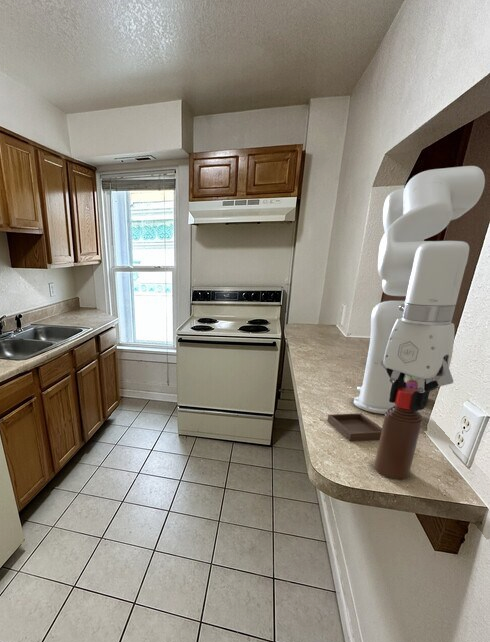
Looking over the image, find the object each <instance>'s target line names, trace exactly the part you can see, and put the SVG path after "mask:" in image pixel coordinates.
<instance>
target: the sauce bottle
mask: <svg viewBox="0 0 490 642" xmlns="http://www.w3.org/2000/svg"><path fill="white" fill-rule="evenodd" d="M423 420H424V419H423V415H422V414H421V413H420V412H419V410H418V411H411V410H407V409H402V408H399V407H397V406H393V407H392V408H390V409H388V410H387V411H386V413H385V414H384V417H383V421H382V422H383V423H382V426H381V428H382V431H381V436H380V439H379V440H378V446H377V450H376V455H375V460H374V464H373V468H374V470H375V471H376V472H377V473H378V474H379V475H382V476H383V477H386V478H390V479H394V480H405V479H407V478H409V476H410V472H411V469H412V464H413V461H414V456H415V452H416V448H417V445H418V440H419V436H420V432H421V428H422V424H423Z"/></svg>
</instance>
